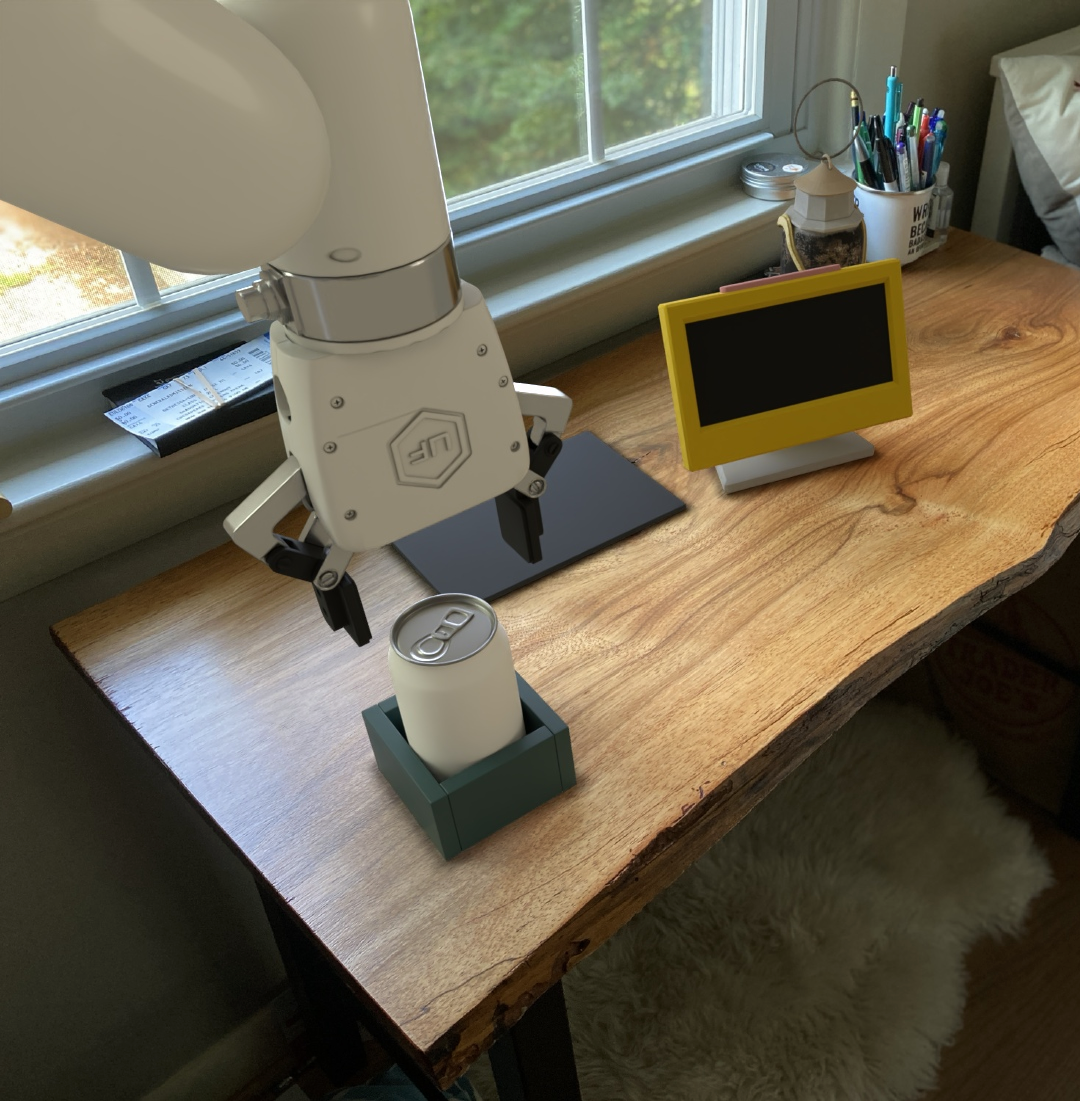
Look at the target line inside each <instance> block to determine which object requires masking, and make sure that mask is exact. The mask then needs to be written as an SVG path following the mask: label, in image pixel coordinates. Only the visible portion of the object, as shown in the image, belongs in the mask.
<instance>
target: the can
mask: <svg viewBox="0 0 1080 1101" xmlns="http://www.w3.org/2000/svg"><path fill="white" fill-rule="evenodd" d="M389 643H390V645H389V649H388V654H387V665H388V670H389V675H390V680H391V683H392V688H393V691H394V695H396V698H397V702H398V706H399V710H400V713H401V717H402V721H403V724H404V728H405V732H406V735H407V739H408V742H409V746H410V747H411V748H412V750H413V751H414V752H415V754H416V755H417V756H418V758H419V759H420V760H421V761H422V763H423V764H424V765H425V767H426V768H427V769H428V770H429V772H430V773H431V774H432V776H433V777H434V778H435V779H436V781H437V782H438V783H439V785H440V783H441V782H443V781H445V780H447V779H449V778H450V777H452V776H454V775H456V774H458V773H459V772H461V771H463V770H465V769H467V768H468V767H470V766H472V765H474V764H476V763H478V762H479V761H481V760H483V759H485V758H487V757H488V756H490V755H492V754H494V753H496V752H498V751H499V750H501V749H503V748H505V747H507V746H508V745H510V744H512V743H514V742H516V741H517V740H519V739H521V738H523V737H525V736H526V731H525V726H524V720H523V714H522V708H521V702H520V697H519V691H518V685H517V680H516V674H515V670H516V669H515V664H514V659H513V658H514V657H513V652H512V648H511V642H510V638H509V635H508V632H507V630H506V629H505V627H504V625H503V624H502V623H501V622H500V621H499V619H498V615H497V613H496V611H495V609H494V608H493V607H492V606H491V604H489V602H488V603H487V602H485V601H484V600H482V599H480V598H477V597H475V596H471V595H467V594H455V593H454V594H442V595H438V594H437V595H434V596H429V597H426V598H423V599H421V600H419V601H416V602H415V603H413V604H411V605H410V606H408V607H406V608H405V609H404V610H403V611H402V612H400V614H399V615H398V616H397V617H396V618H395V620H394V622H393V623H392V625H391V627H390V631H389Z"/></svg>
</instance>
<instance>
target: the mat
mask: <svg viewBox="0 0 1080 1101" xmlns="http://www.w3.org/2000/svg"><path fill="white" fill-rule="evenodd" d="M561 441H562V444H563V446H562V449H561V452H560V453H559V455H558V456H557V458H556V460H555V461H554V463H553V465H552V466H551V468H550V469H549V471H548V473H547V474H546V476H545V478H544V479H545V480H546V482H547V486H546V490H545V491H544V493H543V494H542V495H541V496H539V504H540V510H541V516H542V523H543V529H544V533H543V535H541V536H539V538H540V544H541V551H542V557H543V559H542V560H541V561H539V562H537V563H535V564H532V563H527V562H526V561H525V560H524V559H523V558H522V557H521V556H520V555H519V554H518V553H517V552H516V551H515V550H514V549H513V548H511V547H510V546H509V545H508V544H507V543H506V542H505V541H504V539H503V538H502V535H501V529H500V524H499V519H498V513H497V508H496V503H495V497H494V498H492V499H490V500H488V501H486V502H483V503H481V504H479V505H477V506H474V507H472V508H470V509H468V510H465V511H463V512H461V513H459V514H456V515H454V516H452V517H449V518H447V519H445V520H443V521H440V522H438V523H436V524H433V525H431V526H429V527H426V528H424V529H422V530H420V531H417V532H415V533H413V534H410V535H408V536H406V537H403V538H401V539H398V540H396V541H394V542H391V543H389V544H390V545H391V546H392V547H393V548H394V549H395V551H397V552H398V554H399V555H400V556H401V557H402V558H403V559H404V560H405V561H406V562H407V563H408V564H409V565H410V566H411V567H412V568H413V569H414V571H415V572H416V573H417V574H418V575H419V576H420V577H421V578H422V580H424V581H425V582H426V583H427V584H428V586H429V587H430V588H431V589H432V590H433V591H434V592H435V593H436V594H437V595H442V594H454V593H455V594H467V595H471V596H475V597H477V598H480V599H482V600H484V601H485V602H487V603H488V604H489V603H490V602H492V601H495V600H497V599H499V598H501V597H504V596H505V595H507V594H510V593H512V592H513V591H516V590H517V589H520V588H522V587H525V586H526V585H528V584H530V583H533V582H534V581H537V580H539V579H541V578H543V577H545V576H547V575H550V574H551V573H554V572H556V571H558V570H560V569H562V568H564V567H566V566H569V565H570V564H573V563H575V562H577V561H579V560H581V559H583V558H585V557H588V556H590V555H592V554H595V553H596V552H598V551H600V550H603V549H604V548H607V547H608V546H610V545H613V544H615V543H617V542H619V541H622V540H624V539H626V538H627V537H630V536H632V535H635V534H636V533H638V532H641V531H642V530H644V529H647V528H649V527H651V526H653V525H655V524H657V523H659V522H661V521H663V520H666V519H668V518H670V517H672V516H673V515H676V514H679V513H681V512H682V511H684V510H686V509H687V503H685V502H684V501H683V500H681V499H680V498H679V497H678V496H676V494H673V493H672V491H669V490H668V489H667V488H666V487H664V486H663V485H661V484H660V483H659V482H658V481H657V480H655V479H653V478H652V477H651V476H649V475H648V474H647V473H646V472H644V471H643V470H641V469H640V468H638V466H636V465H635V464H634V463H632V462H631V461H630V460H628V459H627V458H625V457H624V456H623V455H621V453H619V452H617V451H616V450H615V449H613V448H612V447H610V446H609V445H608V444H607V443H605V442H604V441H603V440H601V439H600V438H599V437H597V436H596V435H595V434H594V433H592V432H590V431H589V430H585V431H582V432H580V433H577V434H575V435H573V436H570V437H568V438H565V439H563V440H561Z"/></svg>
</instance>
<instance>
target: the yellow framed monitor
mask: <svg viewBox="0 0 1080 1101" xmlns="http://www.w3.org/2000/svg"><path fill="white" fill-rule="evenodd" d="M903 289H904V288H903V277H902V265H901V260H900V259H899V258H891V257H890V258H885V259H880V260H875V261H870V262H866V263H864V264H859V265H854V266H849V267H844V268H841V267H840V264H835V265H829V266H824V267H819V268H814V269H809V270H804V271H798V272H793V273H788V274H783V275H780V274H779V275H774V276H769V277H764V278H758V279H753V280H748V281H744V282H738V283H734V284H728V285H724V286H720V287H719V292H714V293H709V294H703V295H699V296H695V297H690V298H689V297H688V298H683V299H678V300H673V301H669V302H664V303H659V305H658V306H657V309H658V310H657V311H658V315H659V316H658V317H659V322H660V328H661V335H662V341H663V348H664V351H665V352H664V353H665V359H666V360H665V361H666V366H667V372H668V378H669V384H670V390H671V396H672V403H673V409H674V415H675V423H676V428H677V434H678V438H679V439H678V440H679V447H680V454H681V458H682V464H683V468H684V469H685V470H686V471H688V472H691V473H694V472H699V471H702V470H706V469H710V468H713V467H715V470H716V473H717V476H718V479H719V481H720V484H721V487H722V490H723V492H724V493H725V494H726V495H728V494H732V493H735V492H739V491H743V490H747V489H751V488H755V487H758V486H762V485H765V484H770V483H774V482H778V481H782V480H785V479H788V478H792V477H797V476H800V475H804V474H808V473H812V472H815V471H820V470H822V469H826V468H831V467H835V466H838V465H842V464H846V463H850V462H854V461H857V460H861V459H865V458H869V457H872V456H874V455H875V445H874V444H873V443H871V442H870V441H868V440H867V439H865V437H862V436H861V435H859V434H857V433H856V431H860V430H864V429H867V428H872V427H876V426H880V425H883V424H888V423H892V422H895V421H900V420H904V419H907V418H911V417H912V416H913V414H914V411H913V399H912V387H911V386H912V385H911V373H910V363H909V362H910V361H909V351H908V350H909V349H908V340H907V339H908V338H907V326H906V314H905V302H904V290H903Z"/></svg>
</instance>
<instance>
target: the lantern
mask: <svg viewBox="0 0 1080 1101" xmlns="http://www.w3.org/2000/svg"><path fill="white" fill-rule="evenodd" d="M830 82H838V83H843V84H845V85H847V86H848V87H850V88H851V89H852V90H853V91H854V94H855V95H856V96H857V99H858V103H859V110H860V111H859V113H860V115H859V122H858V125H857V128H856V131H855V132H854V134H853V137H852V138H851V139H850V141H849V142H848V143H847V144H846V145H845V146H844V148H842V149H841V150H840V151H838V152H836V153H834V154H832V155H829V154H827V153H824V154H823V155H822V156H821V157H820V156H815V155H813V154H810V153H809V152H808V151H806V150H805V148H804V147H803V146H802V145H801V142H800V140H799V137H798V132H797V121H798V116H799V113H800V109H801V107H802V105H803V103H804V101H805V100H806V98H807V97H808V96H809V95H810V93H812V91H814V90H815V89H816V88H818V87H819V86H821V85H823V84H826V83H830ZM863 119H864V105H863V100H862V97H861V94H860V92H859V90H858V89H857V87H855V86H854V85H853V84H852V83H851V82H850V81H849V80H846V79H843V78H841V77H840V78H839V77H830V78H826V79H823V80H820V81H819V82H817V83H814V84H813V85H812V86H811V87H810V88H809V89H808V90H807V91H806V92H805V93H804V94H803V95H802V97H801V98H800V101H799V103H798V104H797V107H796V109H795V113H794V116H793V124H792V127H793V128H792V129H793V136H794V140H795V143H796V144H797V147H798V148H799V149H800V151H801V152H802V154H804V155H805V156H806V157H808V158H811V159H812V160H816V161H820V163H819V164H818V165H816V167H814V168H812V169H811V170H810V171H809V172H807V173H805V174H803V175H801V176H799V177H796V178H795V179H794V181H793V185H794V187H795V188H796V189H795V198H794V203H793V204H791V205H790V206H789V207H788V208H786V210H785V211H784V213H783V214H782V215H780V216H779V217H778V219H777V221H776V226H777V227H779V228H783V229H782V232H781V248H780V250H781V251H780V266H779V275H783V274H788V273H793V272H798V271H804V270H809V269H814V268H819V267H824V266H829V265H835V264H840V267H841V268H844V267H849V266H854V265H859V264H864V263H867V254H868V253H867V252H868V232H867V225H866V221H865V218H864V217H865V213H863V212H862V211H861V210H860V208H859V206H858V205H857V204H856V203H855V190H857V188H858V182H856V181H855V180H854V178H851V177H849V176H848V175H846V174H844V173H843V172H842V171H841V170H839V169H838V167H836V166H835V165H834V164H833V163H832V159H836V158H837V157H839V156H841V155H842V154H843V153H844V152H846V151H847V150H848V149H849V148H850V147H851V146H852V144H853V143H854V142H855V141H856V139H857V137H858V135H859V133H860V131H861V128H862V124H863Z"/></svg>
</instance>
